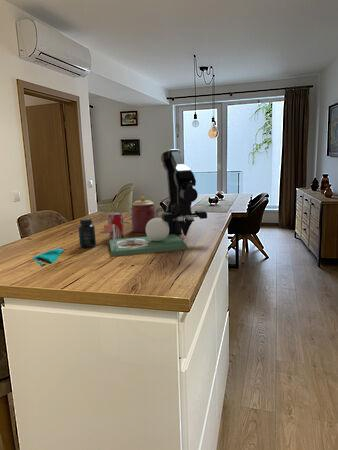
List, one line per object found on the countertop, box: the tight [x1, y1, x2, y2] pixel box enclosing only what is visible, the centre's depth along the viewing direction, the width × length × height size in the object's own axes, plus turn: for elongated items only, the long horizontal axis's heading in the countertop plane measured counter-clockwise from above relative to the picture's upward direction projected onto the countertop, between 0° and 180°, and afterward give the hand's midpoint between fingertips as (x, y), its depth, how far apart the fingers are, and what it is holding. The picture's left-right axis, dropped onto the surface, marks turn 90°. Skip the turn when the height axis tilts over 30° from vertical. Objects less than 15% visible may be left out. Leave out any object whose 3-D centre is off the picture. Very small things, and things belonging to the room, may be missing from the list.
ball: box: [145, 217, 169, 241], centre depth 142 cm, size 10×10×10 cm
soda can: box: [107, 211, 125, 240], centre depth 158 cm, size 7×7×12 cm
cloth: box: [32, 247, 66, 267], centre depth 131 cm, size 26×14×2 cm, turn 172°
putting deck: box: [103, 224, 188, 257], centre depth 141 cm, size 32×20×12 cm, turn 103°
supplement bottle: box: [78, 218, 97, 249], centre depth 144 cm, size 7×7×12 cm
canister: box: [130, 196, 157, 234], centre depth 173 cm, size 13×13×18 cm
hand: (185, 235), depth 145 cm, fingers closed
